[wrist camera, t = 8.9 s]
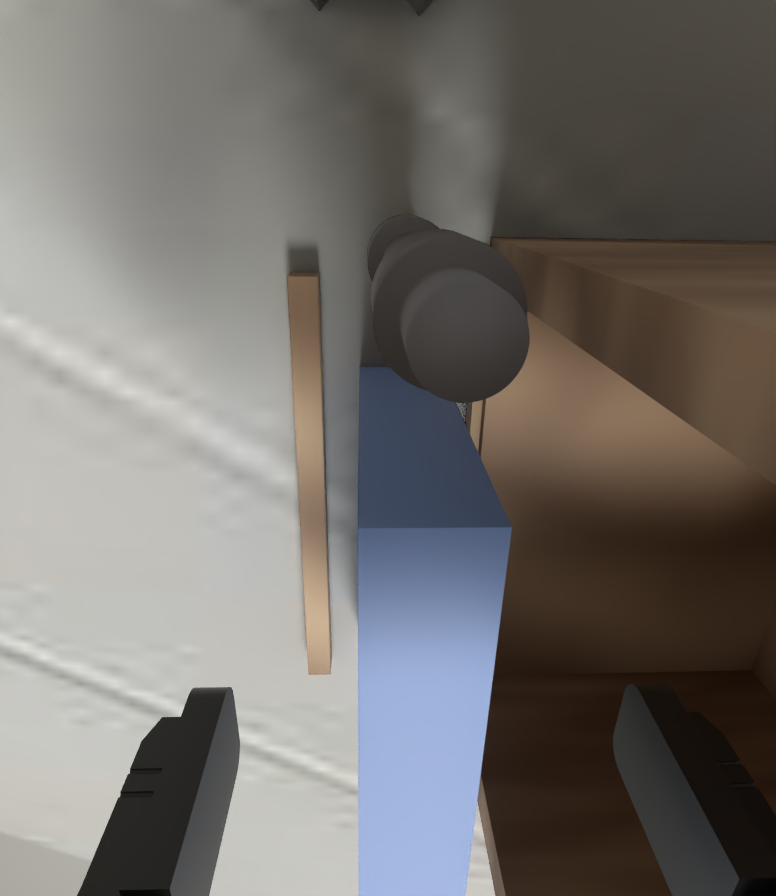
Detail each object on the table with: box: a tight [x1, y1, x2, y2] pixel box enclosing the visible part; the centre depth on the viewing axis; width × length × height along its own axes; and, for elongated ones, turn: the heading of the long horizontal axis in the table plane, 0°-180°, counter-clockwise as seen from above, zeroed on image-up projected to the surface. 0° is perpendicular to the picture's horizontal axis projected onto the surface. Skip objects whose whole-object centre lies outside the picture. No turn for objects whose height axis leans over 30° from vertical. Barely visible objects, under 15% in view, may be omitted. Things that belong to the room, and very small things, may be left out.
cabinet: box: [287, 215, 776, 896], centre depth 13 cm, size 17×18×14 cm
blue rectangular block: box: [358, 367, 512, 896], centre depth 15 cm, size 10×2×9 cm, turn 179°
